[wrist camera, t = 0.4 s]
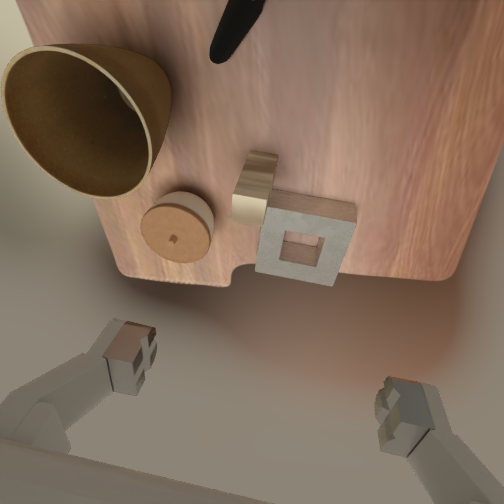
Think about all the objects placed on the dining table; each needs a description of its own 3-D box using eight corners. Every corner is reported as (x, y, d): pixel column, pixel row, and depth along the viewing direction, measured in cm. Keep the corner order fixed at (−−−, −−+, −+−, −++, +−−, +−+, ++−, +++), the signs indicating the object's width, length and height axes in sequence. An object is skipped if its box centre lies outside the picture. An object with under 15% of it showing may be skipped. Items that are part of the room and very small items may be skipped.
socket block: (269, 188, 51) (264, 206, 48) (354, 203, 51) (357, 223, 47) (259, 252, 60) (254, 271, 56) (332, 266, 59) (332, 286, 55)
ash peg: (250, 150, 48) (232, 193, 39) (278, 155, 48) (266, 200, 39) (247, 175, 51) (230, 221, 42) (274, 180, 50) (262, 227, 41)
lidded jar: (222, 237, 59) (208, 275, 52) (164, 230, 60) (142, 265, 53) (220, 183, 52) (204, 218, 45) (154, 176, 53) (128, 208, 46)
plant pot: (73, 17, 41) (-32, 41, 29) (193, 23, 39) (133, 51, 27) (106, 138, 50) (37, 193, 39) (202, 147, 49) (162, 207, 37)
